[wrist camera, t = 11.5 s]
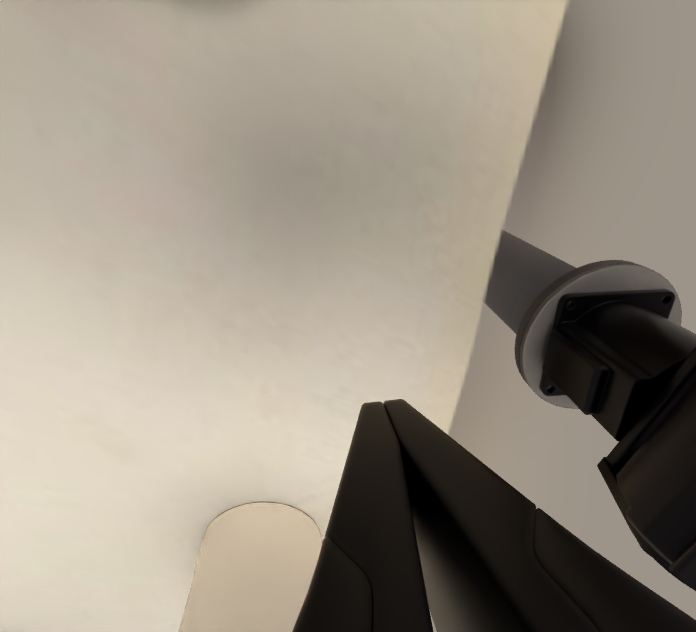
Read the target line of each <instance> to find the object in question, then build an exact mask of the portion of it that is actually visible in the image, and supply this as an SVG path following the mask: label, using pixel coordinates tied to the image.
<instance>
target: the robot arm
mask: <svg viewBox="0 0 696 632" xmlns="http://www.w3.org/2000/svg"><path fill="white" fill-rule="evenodd" d="M664 297H665V298H664ZM675 297H676V296H675V294H674V293H673V292H671V291H669V290H667V289H651V290H629V291H607V292H585V293H568V294H564V295H563V296H562V297H561V298H560V299H559V301H558V305H557V309H556V314H555V318H554V323H553V327H552V332H551V333H550V336H549V340H548V345H547V349H546V354H545V358H544V363H543V367H542V370H543V372H542V376H541V381H540V385H539V389H540V391H541V392H542V393H543V394H544V395H546V396H561V395H567V396H568V397H569V398H570V399H571V401H572V402H573V403H574V404H575V405H576V406H577V407H578V408H579V409H580V410H581V411H582V412H583V413H584V414H586V415H592V416H593V417H594V418H595V419H596V420H597V421H598V422H599V423H600V424H601V425H602V426H603V427H604V428H605V429H606V430H607V431H608V432H609V433H610V434H611V435H612V436H613V437H614V438H615V439H616V440H617V441H619V443H618V444H617V445H616V446H615V448H614V449H613V450H612V451H611V452H610V454H609V455H608V456H607V457H604V458H603V459H602V460H601V461H600V462H599V464H598V465H597V466H598V468H599V470H600V472H601V474H602V476H603V478H604V480H605V482H606V484H607V486H608V487H609V489H610V491H611V493H612V495H613V497H614V499H615V501H616V503H617V505H618V507H619V508H620V510H621V512H622V514H623V516H624V518H625V520H626V522H627V524H628V526H629V528H630V529H631V531H632V533H633V534H634V536H635V538H636V539H637V541H638V543H639V544H640V546H641V548H642V549H643V550H644V551H645V552H646V553H647V554H649V555H650V556H651V557H653V558H654V559H655V560H656V561H657V562H658V563H659V564H660V565H661V566H663V567H664V568H665V569H666V570H667V571H668V572H669V573H671V574H672V575H673V576H675V577H676V578H677V579H678V580H680V581H681V582H682V583H684V584H686V585H687V586H689V587H690V588H692V589H693V590H695V591H696V334H694V333H692V332H691V331H689V330H687V329H685V328H683V327H681V326H679V325H678V324H676V323H674V322H672V321H670V320H668V318H669V315H670V313H671V310H672V307H673V304H674V301H675ZM663 298H664V300H663ZM569 301H571V303H570V304H569V305H568V306H566V305H567V303H568V302H569ZM549 386H551V387H550V388H549V389H547V388H548V387H549ZM429 609H430V611H429ZM430 612H431V615H432V618H433V621H434V624H435V627H436V630H437V632H696V620H694V619H693V618H692V617H690V616H689V615H687V614H686V613H684V612H683V611H681V610H680V609H678V608H677V607H675V606H674V605H673V604H671V603H670V602H668V601H667V600H665V599H664V598H662V597H661V596H659V595H658V594H656V593H655V592H653V591H652V590H650V589H649V588H647V587H646V586H644V585H643V584H641V583H640V582H639V581H637V580H636V579H634V578H633V577H631V576H630V575H628V574H627V573H626V572H624V571H623V570H621V569H620V568H618V567H617V566H616V565H614V564H613V563H611V562H610V561H609V560H607V559H606V558H604V557H603V556H601V555H600V554H599V553H597V552H596V551H594V550H593V549H591V548H590V547H589V546H587V545H586V544H585V543H584V542H582V541H581V540H580V539H578V538H577V537H576V536H574V535H573V534H572V533H571V532H569V531H568V530H567V529H565V528H564V527H563V526H561V525H560V524H559V523H558V522H556V521H555V520H554V519H552V518H551V517H550V516H549V515H548V514H546V513H545V512H544V511H543V510H541V509H539V508H537V509H536V506H535V504H534V503H532V502H531V501H530V500H529V499H527V498H526V497H525V496H524V495H522V494H521V493H520V492H519V491H517V490H516V489H515V488H514V487H512V486H511V485H510V484H508V483H507V482H506V481H504V480H503V479H502V478H501V477H500V476H498V475H497V474H496V473H495V472H493V471H492V470H491V469H490V468H488V467H487V466H486V465H485V464H483V463H482V462H481V461H479V460H478V459H477V458H476V457H475V456H473V455H472V454H471V453H470V452H468V451H467V450H466V449H465V448H463V447H462V446H461V445H460V444H458V443H457V442H456V441H455V440H453V439H452V438H451V437H450V436H448V435H447V434H446V433H445V432H443V431H442V430H441V429H440V428H438V427H437V426H436V425H435V424H433V423H432V422H431V421H430V420H428V419H427V418H426V417H425V416H423V415H422V414H421V413H420V412H418V411H417V410H416V409H415V408H413V407H412V406H411V405H410V404H408V403H407V402H406V401H404V400H402V399H398V400H389V401H385V402H384V403H382V402H370V403H364V404H363V405H362V407H361V410H360V414H359V417H358V421H357V425H356V428H355V432H354V435H353V439H352V442H351V446H350V449H349V453H348V456H347V460H346V463H345V467H344V470H343V474H342V478H341V481H340V485H339V488H338V492H337V495H336V499H335V502H334V506H333V509H332V513H331V516H330V520H329V524H328V527H327V531H326V534H325V539H324V540H323V544H322V547H321V551H320V554H319V558H318V561H317V564H316V567H315V570H314V574H313V577H312V580H311V583H310V586H309V589H308V592H307V595H306V597H305V600H304V603H303V605H302V608H301V610H300V613H299V615H298V618H297V620H296V623H295V626H294V628H293V631H292V632H433V627H432V622H431V616H430Z"/></svg>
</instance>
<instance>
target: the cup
mask: <svg viewBox="0 0 696 632" xmlns="http://www.w3.org/2000/svg"><path fill="white" fill-rule="evenodd" d="M321 547H322V544H321V534H320V531H319V529H318V527H317V525H316V524H315V522H314V521H313V520H312V519H311V518H310V517H309V516H307V515H306V514H305V513H303V512H301V511H299V510H297V509H295V508H293V507H290V506H287V505H283V504H278V503H267V502H260V503H250V504H245V505H241V506H238V507H235V508H232V509H230V510H228V511H226V512H224V513H222V514H221V515H219V516H218V517H217V518H216V519H214V520H213V521H212V522H211V524H210V525H209V526H208V528H207V529H206V531H205V534H204V537H203V541H202V544H201V548H200V552H199V556H198V560H197V564H196V568H195V571H194V575H193V579H192V583H191V587H190V591H189V594H188V598H187V602H186V606H185V610H184V614H183V618H182V621H181V625H180V629H179V632H292V631H293V628H294V626H295V623H296V620H297V618H298V615H299V613H300V610H301V608H302V605H303V603H304V600H305V597H306V595H307V592H308V589H309V586H310V583H311V580H312V577H313V574H314V570H315V567H316V564H317V561H318V558H319V554H320V551H321Z"/></svg>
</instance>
